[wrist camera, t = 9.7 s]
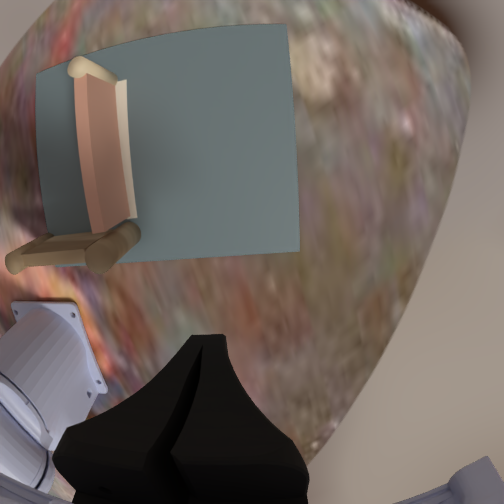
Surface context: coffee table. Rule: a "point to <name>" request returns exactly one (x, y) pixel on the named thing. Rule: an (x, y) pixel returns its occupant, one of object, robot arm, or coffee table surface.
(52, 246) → the fence frame
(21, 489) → the robot arm
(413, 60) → the coffee table surface
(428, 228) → the coffee table surface
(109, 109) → the fence panel
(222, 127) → the card
